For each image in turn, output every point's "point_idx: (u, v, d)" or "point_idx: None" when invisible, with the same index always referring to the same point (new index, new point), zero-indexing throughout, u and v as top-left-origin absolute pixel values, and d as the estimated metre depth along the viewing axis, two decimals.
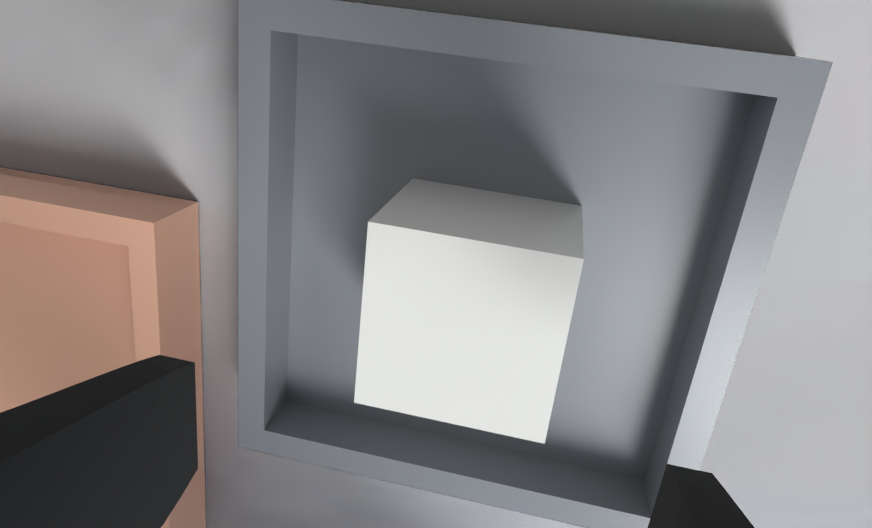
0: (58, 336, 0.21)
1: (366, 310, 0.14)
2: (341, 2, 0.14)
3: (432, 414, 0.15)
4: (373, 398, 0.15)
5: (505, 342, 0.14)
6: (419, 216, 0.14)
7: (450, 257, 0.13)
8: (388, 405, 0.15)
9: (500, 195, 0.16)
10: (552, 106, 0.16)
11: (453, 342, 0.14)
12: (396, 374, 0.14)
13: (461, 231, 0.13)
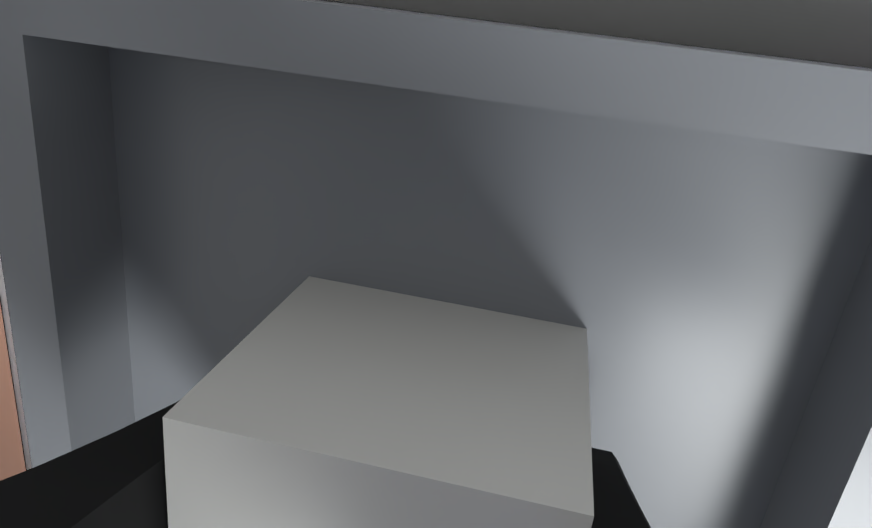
0: None
1: None
2: None
3: None
4: None
5: None
6: (279, 389, 0.07)
7: (325, 491, 0.07)
8: None
9: (449, 311, 0.10)
10: (536, 165, 0.09)
11: None
12: None
13: (350, 432, 0.07)
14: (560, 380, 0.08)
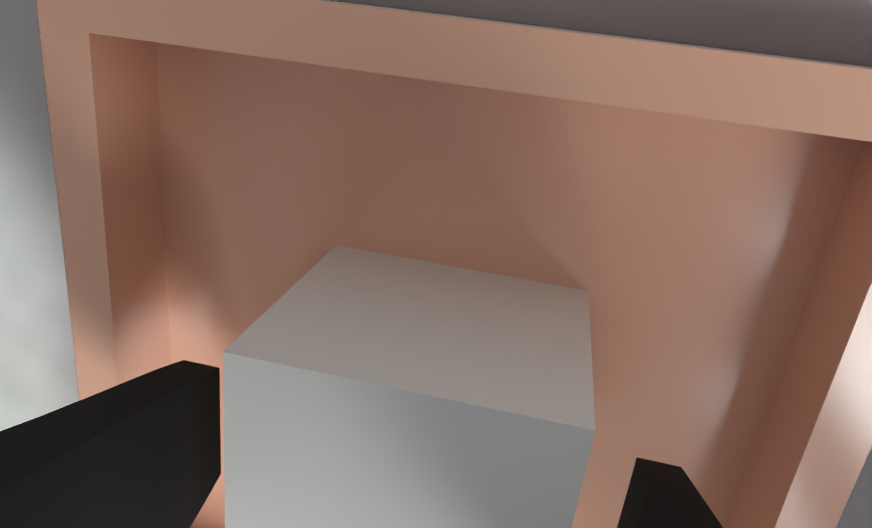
0: None
1: (233, 487, 0.08)
2: None
3: None
4: None
5: None
6: (320, 333, 0.08)
7: (363, 414, 0.08)
8: None
9: (465, 274, 0.11)
10: None
11: None
12: None
13: (385, 366, 0.08)
14: (565, 330, 0.09)
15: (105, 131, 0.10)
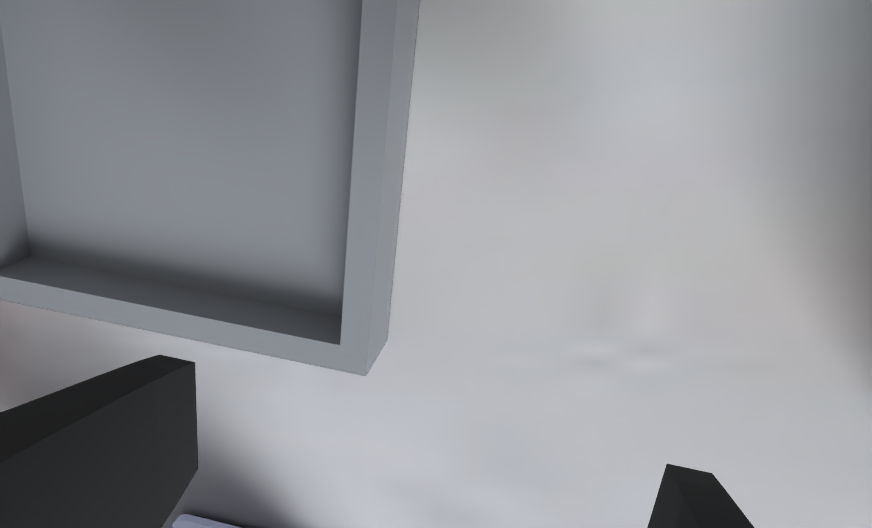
0: None
1: None
2: None
3: None
4: None
5: None
6: None
7: None
8: None
9: None
10: None
11: None
12: None
13: None
14: None
15: None
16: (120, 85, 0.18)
